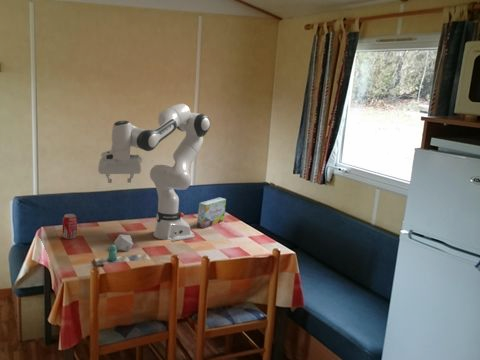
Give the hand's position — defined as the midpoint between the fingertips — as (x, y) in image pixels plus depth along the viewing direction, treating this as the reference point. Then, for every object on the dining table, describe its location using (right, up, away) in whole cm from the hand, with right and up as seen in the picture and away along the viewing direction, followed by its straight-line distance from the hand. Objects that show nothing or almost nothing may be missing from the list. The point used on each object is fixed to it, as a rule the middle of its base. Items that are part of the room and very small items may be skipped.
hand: (119, 182), depth 230 cm
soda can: (-30, -29, +16) cm, 45 cm away
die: (+1, -34, +5) cm, 35 cm away
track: (+3, -37, -7) cm, 38 cm away
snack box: (+41, -26, +59) cm, 76 cm away
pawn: (-1, -36, -10) cm, 38 cm away
